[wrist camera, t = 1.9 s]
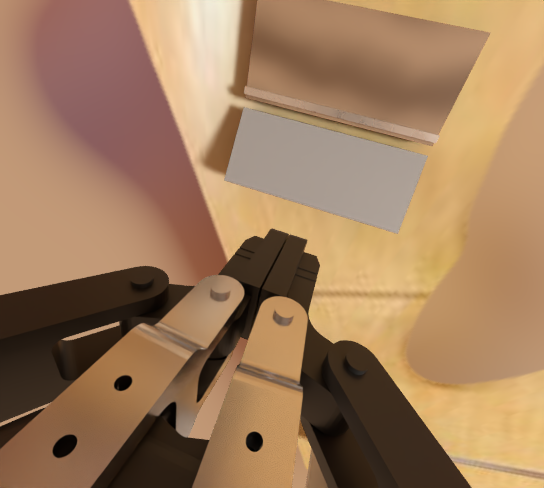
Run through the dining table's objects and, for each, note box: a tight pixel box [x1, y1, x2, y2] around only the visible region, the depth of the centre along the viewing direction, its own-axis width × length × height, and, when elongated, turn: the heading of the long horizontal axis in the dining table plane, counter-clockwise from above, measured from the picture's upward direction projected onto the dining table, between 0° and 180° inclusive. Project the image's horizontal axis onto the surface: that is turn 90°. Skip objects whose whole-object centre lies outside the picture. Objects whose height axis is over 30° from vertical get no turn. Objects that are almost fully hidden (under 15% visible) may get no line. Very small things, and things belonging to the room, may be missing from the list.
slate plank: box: [224, 107, 428, 234], centre depth 26 cm, size 7×17×2 cm, turn 77°
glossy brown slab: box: [244, 0, 490, 146], centre depth 23 cm, size 8×17×2 cm, turn 78°
